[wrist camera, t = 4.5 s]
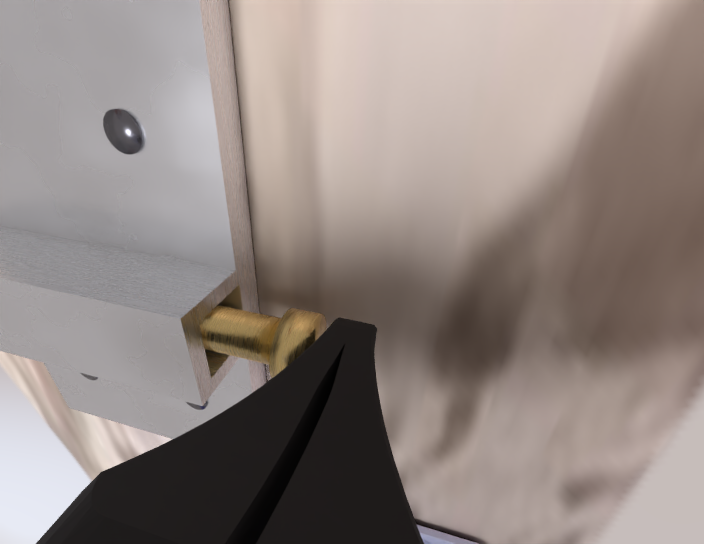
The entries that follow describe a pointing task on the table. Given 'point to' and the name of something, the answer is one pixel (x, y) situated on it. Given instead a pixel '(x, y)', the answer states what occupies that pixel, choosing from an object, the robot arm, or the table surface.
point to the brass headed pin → (261, 335)
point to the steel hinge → (124, 205)
